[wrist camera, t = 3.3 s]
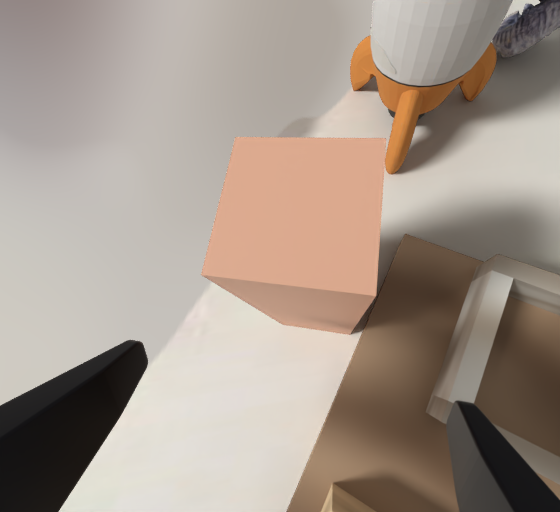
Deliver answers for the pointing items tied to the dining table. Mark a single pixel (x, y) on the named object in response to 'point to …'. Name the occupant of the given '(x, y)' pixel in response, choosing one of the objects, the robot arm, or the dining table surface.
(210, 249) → the post
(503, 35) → the seashell
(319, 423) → the dining table surface
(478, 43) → the toy rocket
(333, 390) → the dining table surface
